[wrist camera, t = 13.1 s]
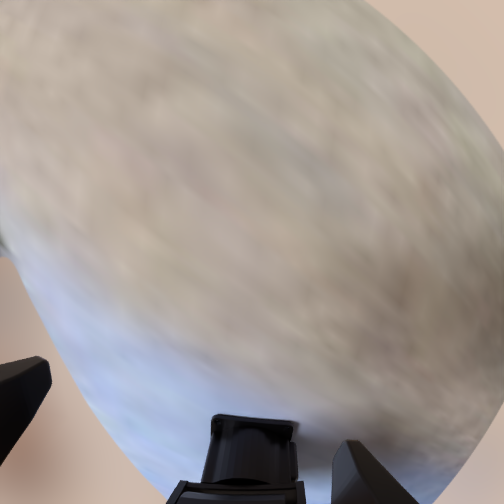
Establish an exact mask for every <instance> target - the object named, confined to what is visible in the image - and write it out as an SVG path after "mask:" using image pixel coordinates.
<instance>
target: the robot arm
mask: <svg viewBox="0 0 504 504" xmlns="http://www.w3.org/2000/svg"><path fill="white" fill-rule="evenodd" d="M51 384H52V378H51V372H50V366H49V362H48V361H47V360H45V359H44V358H42V357H40V356H34V357H30V358H26V359H22V360H18V361H14V362H9V363H5V364H1V365H0V466H1V465H2V463H3V462H4V460H5V459H6V457H7V455H8V454H9V453H10V451H11V450H12V448H13V447H14V445H15V444H16V442H17V441H18V440H19V438H20V437H21V435H22V434H23V432H24V431H25V430H26V428H27V427H28V425H29V424H30V422H31V421H32V419H33V418H34V416H35V414H36V412H37V410H38V409H39V407H40V405H41V403H42V402H43V400H44V398H45V396H46V395H47V393H48V391H49V389H50V388H51ZM216 420H219V421H216ZM285 427H289V428H285ZM292 433H293V424H292V423H291V422H285V421H270V420H258V419H248V418H239V417H230V416H223V415H214V416H213V417H212V420H211V441H210V445H209V449H208V453H207V458H206V462H205V466H204V470H203V474H202V479H201V483H193V482H188V481H183V480H180V482H179V483H178V485H177V487H176V488H175V489H174V491H173V493H172V494H171V496H170V498H169V499H168V501H167V502H166V504H306V497H305V489H304V481H297V480H298V465H297V451H296V444H295V443H294V442H290V440H291V437H292ZM331 504H419V503H418V502H417V501H416V500H415V499H414V498H413V497H412V496H411V495H410V494H409V493H408V492H407V491H406V490H405V489H404V488H403V487H402V486H401V485H400V484H399V483H398V481H397V480H396V479H395V478H394V477H393V476H392V475H391V474H390V473H389V472H388V471H387V470H386V469H385V468H384V467H383V466H382V465H381V464H380V463H379V462H378V460H377V459H376V458H375V457H374V456H373V455H372V454H371V453H370V452H369V451H368V450H367V449H366V448H365V446H364V445H363V444H362V443H361V442H360V441H358V440H345V441H343V443H342V445H341V446H340V448H339V450H338V451H337V453H336V455H335V456H334V459H333V467H332V494H331Z"/></svg>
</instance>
